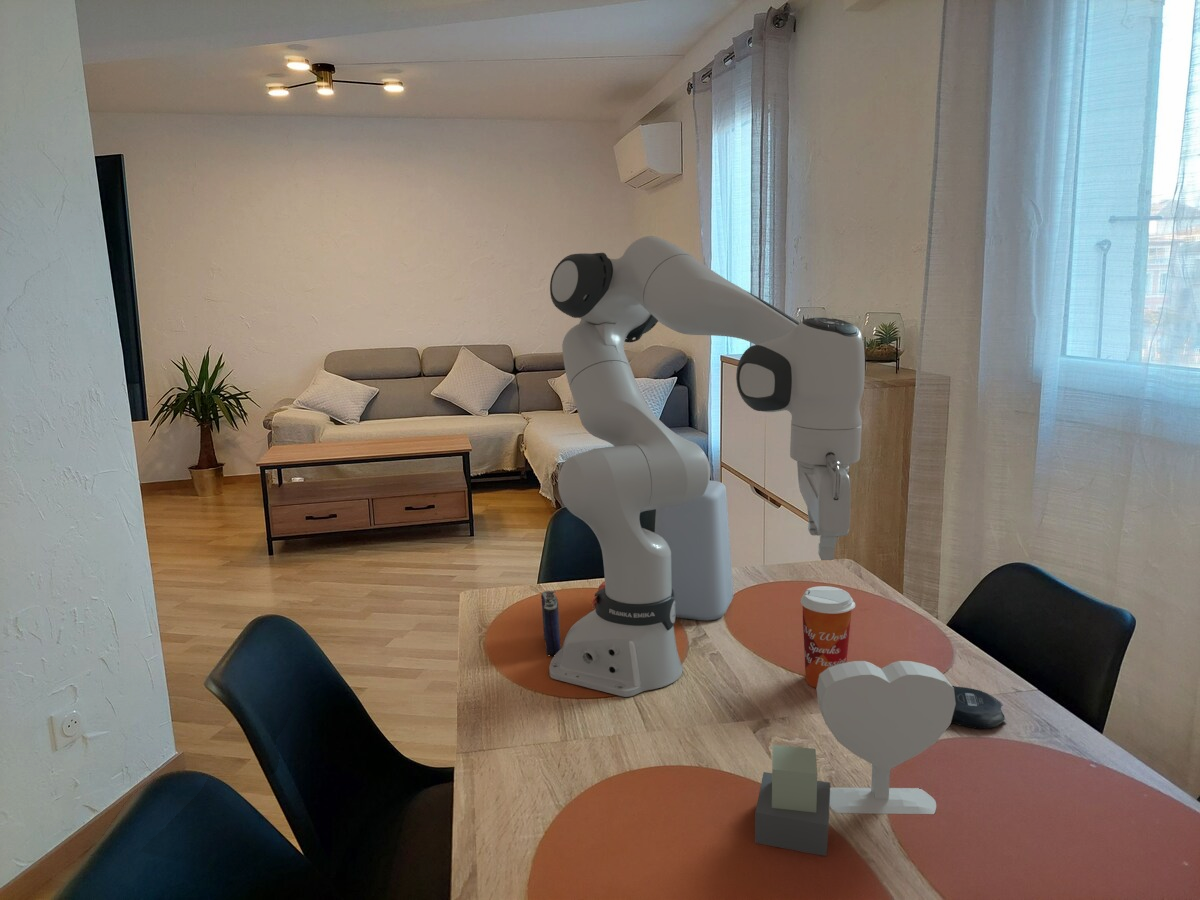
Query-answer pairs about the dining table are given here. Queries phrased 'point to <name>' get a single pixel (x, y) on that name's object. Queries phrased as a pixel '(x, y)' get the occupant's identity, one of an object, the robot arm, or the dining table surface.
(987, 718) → the black rounded flattened block
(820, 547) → the robot arm
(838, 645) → the coffee cup
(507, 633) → the dining table surface
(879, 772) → the heart sculpture
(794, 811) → the charcoal block
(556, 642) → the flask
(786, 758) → the green cube
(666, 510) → the grey-blue container
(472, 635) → the dining table surface
